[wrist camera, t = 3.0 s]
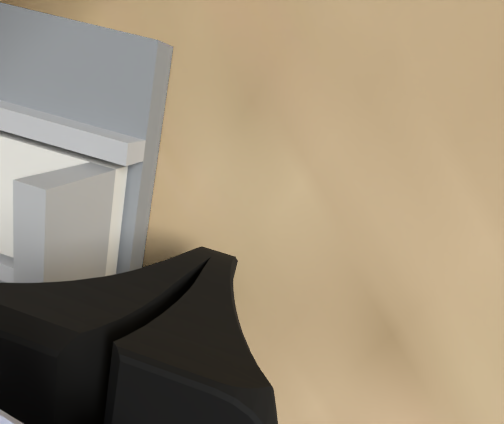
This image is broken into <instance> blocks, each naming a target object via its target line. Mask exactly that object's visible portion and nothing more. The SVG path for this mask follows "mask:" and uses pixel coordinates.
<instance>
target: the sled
mask: <svg viewBox="0 0 504 424" xmlns="http://www.w3.org/2000/svg"><path fill="white" fill-rule="evenodd" d="M127 171H128V166H123V165H120V164H116V163H113V162H109V161H106V160H102V159H99V158H95V157H92V156H88V155H85V154H81V153H78V152H74V151H71V150H68V149H64V148H61V147H57V146H54V145H50V144H47V143H43V142H40V141H36V140H33V139H29V138H26V137H22V136H19V135H16V134H12V133H9V132H5V131H2V130H0V253H1V254H4V255H7V256H10V257H13V262H14V283H41V282H60V281H73V280H81V279H88V278H96V277H103V276H109V275H114V274H116V269H117V260H118V251H119V243H120V234H121V225H122V216H123V207H124V198H125V189H126V180H127Z"/></svg>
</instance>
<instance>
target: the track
mask: <svg viewBox="0 0 504 424" xmlns="http://www.w3.org/2000/svg"><path fill="white" fill-rule="evenodd" d="M172 52H173V46H170V45H168V44H166V43H163V42H161V41H159V40H155V39H151V38H147V37H142V36H138V35H134V34H130V33H126V32H122V31H117V30H113V29H109V28H105V27H101V26H97V25H92V24H88V23H84V22H80V21H76V20H72V19H67V18H63V17H59V16H55V15H51V14H46V13H42V12H38V11H34V10H30V9H26V8H21V7H17V6H13V5H9V4H5V3H1V2H0V130H2V131H5V132H9V133H12V134H16V135H19V136H22V137H26V138H29V139H33V140H36V141H40V142H43V143H47V144H50V145H54V146H57V147H61V148H64V149H68V150H71V151H74V152H78V153H81V154H85V155H88V156H92V157H95V158H99V159H102V160H106V161H109V162H113V163H116V164H120V165H123V166H128V171H127V180H126V189H125V198H124V207H123V216H122V225H121V234H120V243H119V251H118V260H117V269H116V274H119V273H124V272H128V271H132V270H136V269H140V268H142V265H143V258H144V251H145V244H146V237H147V230H148V223H149V216H150V209H151V201H152V194H153V187H154V180H155V173H156V166H157V159H158V152H159V144H160V137H161V130H162V123H163V116H164V109H165V102H166V95H167V88H168V80H169V73H170V66H171V59H172ZM0 283H14V262H13V257H10V256H7V255H4V254H1V253H0Z"/></svg>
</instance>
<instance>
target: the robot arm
mask: <svg viewBox="0 0 504 424" xmlns="http://www.w3.org/2000/svg"><path fill="white" fill-rule="evenodd" d="M237 262H238V261H237V259H236V257H234V256H231V255H228V254H224V253H221V252H218V251H215V250H211V249H208V248H205V247H199V248H196V249H193V250H191V251H188V252H186V253H183V254H181V255H178V256H175V257H173V258H170V259H167V260H165V261H162V262H159V263H155V264H152V265H149V266H146V267H143V268H140V269H136V270H132V271H128V272H124V273H119V274H114V275H109V276H103V277H96V278H88V279H81V280H73V281H60V282H41V283H0V424H278V421H277V411H276V403H275V396H274V390H273V387H272V386H271V384H270V383H269V381H268V380H267V378H266V377H265V375H264V374H263V372H262V371H261V370H260V368H259V367H258V365H257V363H256V361H255V359H254V358H253V356H252V354H251V352H250V349H249V347H248V345H247V342H246V340H245V338H244V335H243V333H242V330H241V326H240V323H239V320H238V316H237V312H236V307H235V300H234V291H233V278H234V274H235V270H236V266H237Z"/></svg>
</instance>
